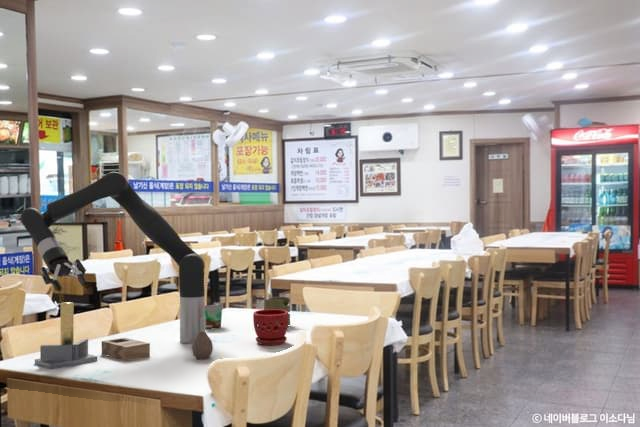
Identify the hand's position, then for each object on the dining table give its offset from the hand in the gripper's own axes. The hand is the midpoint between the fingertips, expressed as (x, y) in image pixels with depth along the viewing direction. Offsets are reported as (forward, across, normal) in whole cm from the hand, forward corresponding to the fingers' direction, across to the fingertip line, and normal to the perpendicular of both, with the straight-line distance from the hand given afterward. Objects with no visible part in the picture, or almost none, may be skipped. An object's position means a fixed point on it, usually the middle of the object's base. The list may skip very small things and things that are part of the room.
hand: (72, 287), depth 233 cm
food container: (+18, +63, +30) cm, 73 cm away
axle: (+22, -10, +6) cm, 25 cm away
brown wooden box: (+28, +8, +7) cm, 30 cm away
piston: (+32, +83, +21) cm, 92 cm away
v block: (+23, -11, +8) cm, 27 cm away
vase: (+46, +23, -8) cm, 52 cm away
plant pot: (+48, +56, -2) cm, 74 cm away
